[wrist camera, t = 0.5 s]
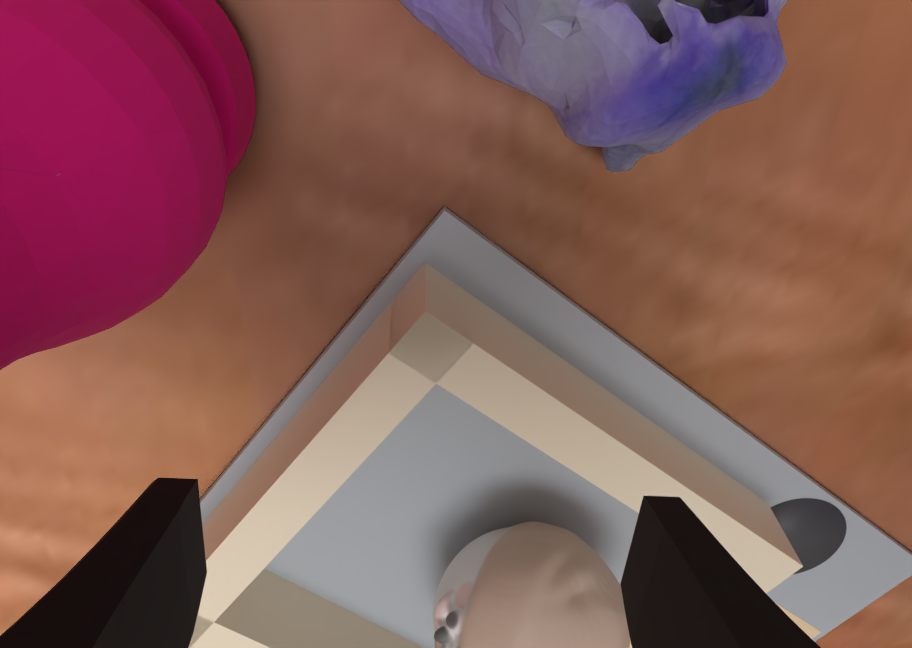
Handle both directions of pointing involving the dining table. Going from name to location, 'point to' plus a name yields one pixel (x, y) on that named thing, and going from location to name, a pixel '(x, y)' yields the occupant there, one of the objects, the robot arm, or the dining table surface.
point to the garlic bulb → (529, 593)
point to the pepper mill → (110, 157)
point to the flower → (619, 61)
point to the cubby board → (494, 465)
